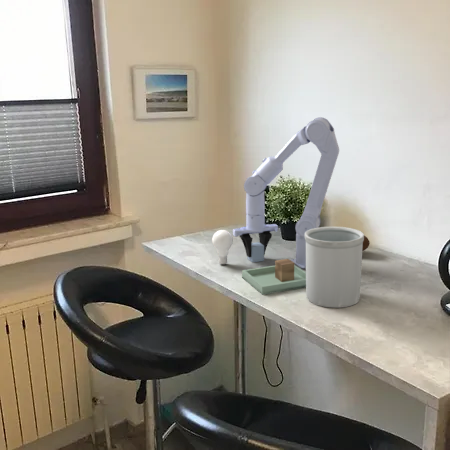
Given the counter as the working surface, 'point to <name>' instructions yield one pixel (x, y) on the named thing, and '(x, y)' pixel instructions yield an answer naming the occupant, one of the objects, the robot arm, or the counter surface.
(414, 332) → the counter surface
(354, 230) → the utensil holder
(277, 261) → the walnut block
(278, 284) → the tray
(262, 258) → the bluegrey block
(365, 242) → the potato
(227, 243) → the lightbulb
